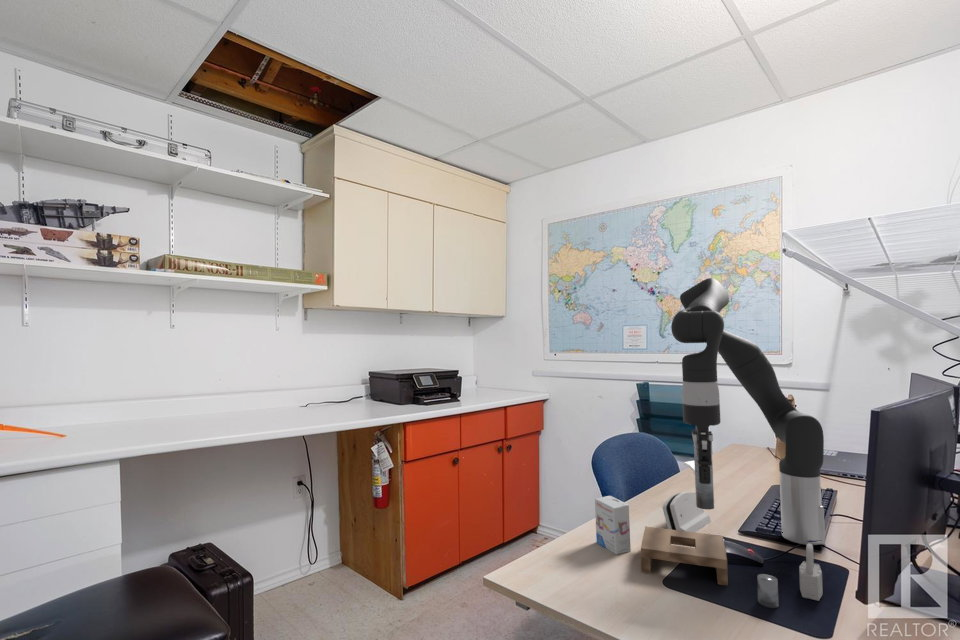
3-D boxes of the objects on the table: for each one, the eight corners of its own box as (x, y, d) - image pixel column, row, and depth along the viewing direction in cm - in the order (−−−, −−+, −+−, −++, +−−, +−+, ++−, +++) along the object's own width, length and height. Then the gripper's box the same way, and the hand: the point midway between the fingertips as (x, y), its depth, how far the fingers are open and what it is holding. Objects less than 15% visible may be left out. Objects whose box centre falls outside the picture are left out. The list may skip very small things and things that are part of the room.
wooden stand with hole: (723, 558, 122) (722, 535, 122) (727, 585, 109) (727, 560, 109) (645, 547, 129) (645, 526, 129) (641, 572, 116) (640, 548, 116)
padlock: (822, 602, 101) (820, 552, 102) (798, 597, 104) (797, 548, 104) (823, 588, 107) (821, 540, 107) (800, 582, 110) (799, 536, 110)
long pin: (713, 504, 110) (711, 449, 111) (715, 510, 107) (712, 453, 107) (695, 503, 112) (693, 449, 112) (696, 508, 108) (694, 452, 109)
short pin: (776, 600, 103) (775, 575, 103) (780, 609, 99) (779, 583, 99) (756, 597, 104) (755, 572, 104) (759, 606, 100) (759, 580, 101)
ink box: (594, 542, 133) (593, 497, 133) (610, 539, 135) (609, 494, 135) (615, 555, 125) (614, 507, 125) (631, 551, 127) (630, 504, 127)
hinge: (686, 537, 135) (673, 499, 137) (670, 539, 138) (658, 501, 140) (711, 521, 146) (699, 486, 149) (696, 522, 149) (684, 488, 152)
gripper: (723, 406, 102) (726, 491, 102) (716, 397, 115) (719, 473, 115) (683, 406, 105) (687, 489, 104) (681, 397, 118) (684, 471, 117)
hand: (704, 480), depth 110 cm, fingers closed on long pin, 3 cm apart
